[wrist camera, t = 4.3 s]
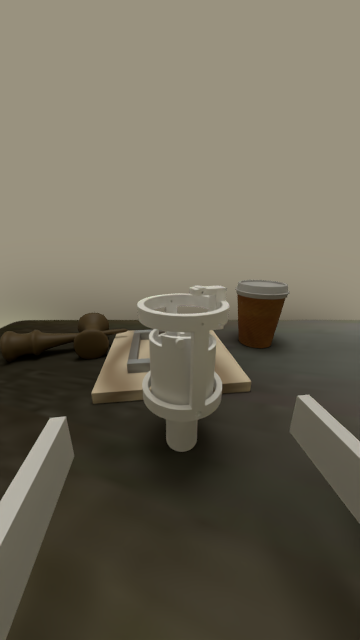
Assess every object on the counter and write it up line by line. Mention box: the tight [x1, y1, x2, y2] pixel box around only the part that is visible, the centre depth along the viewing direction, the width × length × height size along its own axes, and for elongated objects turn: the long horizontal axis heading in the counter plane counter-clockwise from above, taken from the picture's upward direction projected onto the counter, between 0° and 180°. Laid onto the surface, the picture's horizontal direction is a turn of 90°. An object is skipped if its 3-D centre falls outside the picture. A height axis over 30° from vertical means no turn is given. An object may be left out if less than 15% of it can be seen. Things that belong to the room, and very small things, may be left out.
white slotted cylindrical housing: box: [137, 286, 229, 452], centre depth 18 cm, size 7×7×15 cm
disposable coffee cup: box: [236, 280, 289, 348], centre depth 41 cm, size 10×10×12 cm
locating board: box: [91, 330, 251, 404], centre depth 35 cm, size 20×20×3 cm
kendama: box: [0, 313, 128, 362], centre depth 37 cm, size 6×10×20 cm
